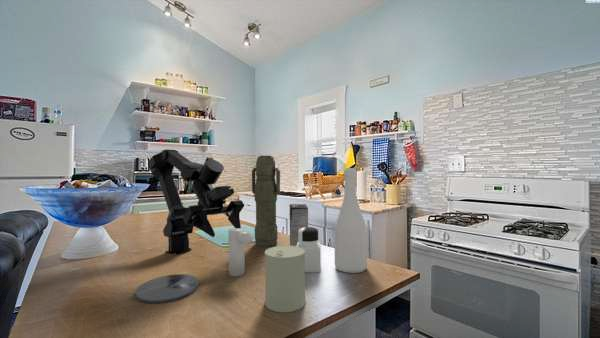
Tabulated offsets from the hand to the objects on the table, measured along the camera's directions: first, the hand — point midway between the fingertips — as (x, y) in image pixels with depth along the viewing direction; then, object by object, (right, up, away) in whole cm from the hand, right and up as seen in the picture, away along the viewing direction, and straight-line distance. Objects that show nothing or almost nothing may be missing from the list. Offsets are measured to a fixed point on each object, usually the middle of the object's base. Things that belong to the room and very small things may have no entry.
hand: (227, 233), depth 83 cm
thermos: (+8, -11, +28) cm, 31 cm away
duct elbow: (+4, -11, -4) cm, 12 cm away
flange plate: (-11, -11, -13) cm, 21 cm away
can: (+18, -11, -20) cm, 29 cm away
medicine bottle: (+24, -11, +1) cm, 26 cm away
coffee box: (+21, -11, +22) cm, 32 cm away
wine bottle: (+37, -11, +1) cm, 38 cm away
